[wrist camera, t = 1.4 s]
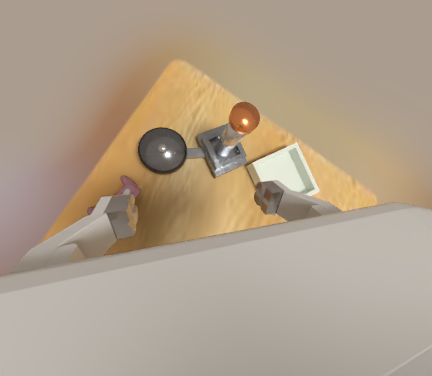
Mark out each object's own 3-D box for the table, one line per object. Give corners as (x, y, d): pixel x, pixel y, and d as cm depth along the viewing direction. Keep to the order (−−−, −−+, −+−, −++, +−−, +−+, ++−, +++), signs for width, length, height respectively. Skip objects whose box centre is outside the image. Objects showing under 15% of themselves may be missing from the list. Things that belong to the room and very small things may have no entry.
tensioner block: (243, 165, 37) (250, 160, 33) (184, 191, 34) (184, 190, 30) (226, 128, 37) (231, 119, 33) (166, 151, 34) (163, 144, 30)
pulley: (193, 166, 35) (194, 160, 30) (154, 182, 33) (148, 179, 28) (176, 130, 35) (174, 118, 30) (136, 144, 33) (127, 133, 28)
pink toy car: (108, 221, 32) (105, 237, 26) (86, 209, 30) (76, 224, 24) (142, 186, 34) (146, 194, 28) (124, 172, 32) (124, 177, 26)
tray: (308, 192, 40) (319, 191, 37) (268, 214, 37) (276, 215, 34) (287, 147, 40) (296, 142, 37) (246, 166, 37) (252, 162, 34)
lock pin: (235, 154, 34) (264, 124, 22) (218, 161, 34) (239, 134, 21) (227, 137, 34) (251, 98, 22) (210, 143, 34) (226, 107, 21)
